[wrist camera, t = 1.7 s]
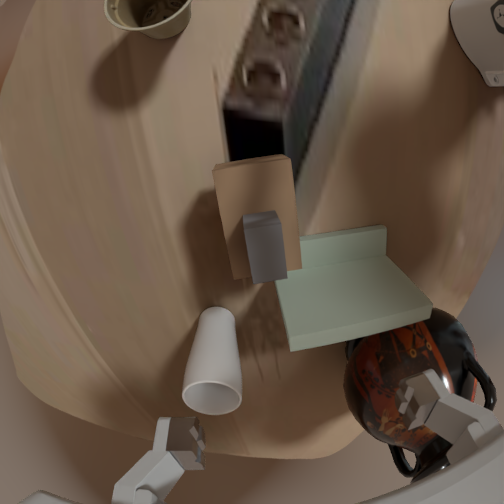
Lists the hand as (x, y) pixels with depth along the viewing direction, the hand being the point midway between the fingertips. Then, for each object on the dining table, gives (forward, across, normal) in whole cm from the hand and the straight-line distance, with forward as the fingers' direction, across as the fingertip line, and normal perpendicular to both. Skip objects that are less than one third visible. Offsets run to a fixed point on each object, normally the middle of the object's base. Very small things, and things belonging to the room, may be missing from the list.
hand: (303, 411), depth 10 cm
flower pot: (+28, +7, -26) cm, 39 cm away
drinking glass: (+29, +7, +16) cm, 33 cm away
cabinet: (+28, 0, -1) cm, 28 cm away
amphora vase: (+28, -21, +24) cm, 43 cm away
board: (+28, -10, +7) cm, 31 cm away
